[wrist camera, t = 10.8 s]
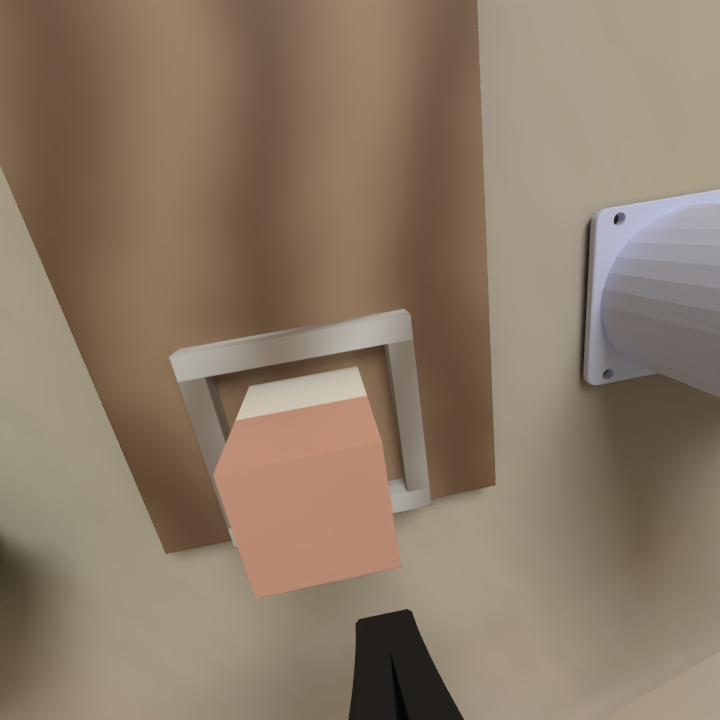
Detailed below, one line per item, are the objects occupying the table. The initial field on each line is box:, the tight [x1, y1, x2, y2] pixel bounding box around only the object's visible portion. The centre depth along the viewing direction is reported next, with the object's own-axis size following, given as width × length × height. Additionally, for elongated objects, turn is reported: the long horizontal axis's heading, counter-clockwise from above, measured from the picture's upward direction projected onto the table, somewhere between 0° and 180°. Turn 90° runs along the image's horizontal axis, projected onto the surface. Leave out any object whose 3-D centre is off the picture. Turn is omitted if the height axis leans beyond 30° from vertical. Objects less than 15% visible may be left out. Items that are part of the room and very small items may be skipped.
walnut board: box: [0, 0, 496, 554], centre depth 14 cm, size 16×24×2 cm, turn 9°
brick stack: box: [213, 366, 401, 599], centre depth 14 cm, size 4×4×6 cm
